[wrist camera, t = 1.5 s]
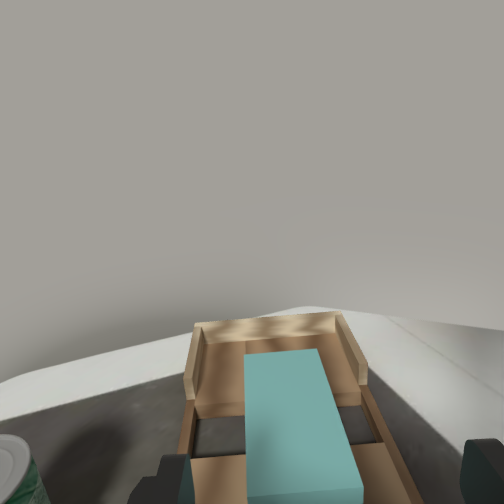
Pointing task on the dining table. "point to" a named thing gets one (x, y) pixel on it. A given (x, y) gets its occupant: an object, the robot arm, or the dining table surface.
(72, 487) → the dining table surface
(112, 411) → the dining table surface
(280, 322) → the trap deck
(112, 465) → the dining table surface
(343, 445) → the teal box
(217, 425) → the dining table surface
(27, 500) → the canned tomato
